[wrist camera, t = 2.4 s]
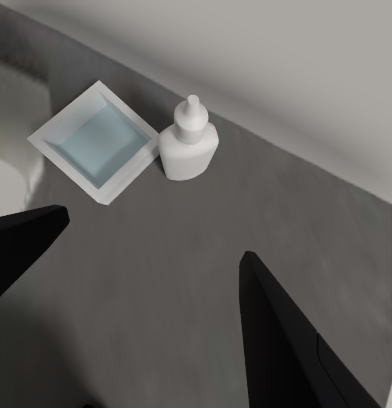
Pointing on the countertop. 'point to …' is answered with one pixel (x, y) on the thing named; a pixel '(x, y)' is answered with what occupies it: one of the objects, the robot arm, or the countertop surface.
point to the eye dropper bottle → (187, 141)
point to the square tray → (98, 143)
